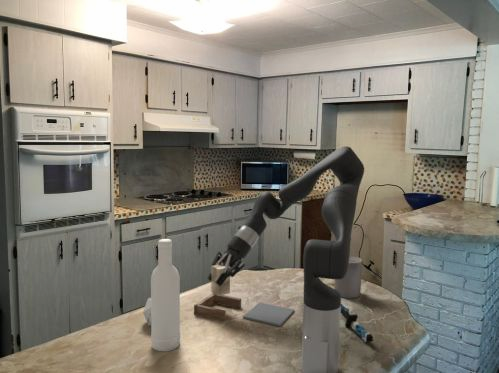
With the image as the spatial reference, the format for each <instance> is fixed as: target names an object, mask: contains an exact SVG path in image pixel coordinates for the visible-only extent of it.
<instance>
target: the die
mask: <svg viewBox="0 0 499 373" xmlns="http://www.w3.org/2000/svg"><path fill="white" fill-rule="evenodd" d="M142 314H143V316H144V318H145V321H146V323H147V325H148V326H149V327H151V297H149V298H147V301H146V303H145V305H144V308H143V310H142Z"/></svg>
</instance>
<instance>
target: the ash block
mask: <svg viewBox="0 0 499 373" xmlns="http://www.w3.org/2000/svg"><path fill="white" fill-rule="evenodd" d="M210 267H211V269H210V270H211V272H210V273H211V281H210V283H211V284H210V285H211V286H210V289H211V290H210V291H211V294H212V293H214V294H216V295H218V296H221V295H227V294H230V293H231V276H229V277H227V279H226V280H225V281H224V283H223V284H222V285H221V286H219V285H218V284H216V280H217V279H218V278H219V277H220V275H221V274H222V273H223V271H224V269H225V265H224V264H223V263H222V265H216V264H215V265H214V266H211V265H210ZM228 270H229V269H228ZM228 270H227V271H228Z"/></svg>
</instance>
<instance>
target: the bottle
mask: <svg viewBox="0 0 499 373" xmlns="http://www.w3.org/2000/svg"><path fill="white" fill-rule="evenodd" d="M157 249H158V253H157V254H158V259H157V260H158V261H157V262H158V265H157V266H156V267H155V268H154V269H153V271H152V273H151V276H150V298H151V325H150V327H151V332H150V333H151V335H150V336H151V337H150V341H151V348H152V349H153V350H155V351H158V352H170V351H174V350H175V349H177V348H179V346H180V342H181V330H180V328H181V320H180V319H181V316H180V315H181V314H180V313H181V310H180V309H181V308H180V307H181V302H180V300H181V298H180V297H181V296H180V295H181V294H180V292H181V290H180V289H181V287H180V285H181V281H180V280H181V277H180V274H179V271H178V269H177V268H176V267H175V266H174V265H173V241H172V239H171V238H162V239H161V238H160V239H159V240H158V243H157Z"/></svg>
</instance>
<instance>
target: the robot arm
mask: <svg viewBox="0 0 499 373" xmlns="http://www.w3.org/2000/svg"><path fill="white" fill-rule="evenodd" d="M329 170H331V172H332V173H333V174H334V176H335V177H336V178H337V180H338V182H339V185H337V186H334V187H332V188H331V189H329V190H328V191H327V192H326V194H325V196H324V199H323V203H322V207H321V217H322V219H323V221H324V224H326V226H327V228H328V229H329V230H330V232H331V233H332V235H333V236H334V238H335V240H336V241H334V240H324V239H314V238H313V239H309V240H307V241H306V243H305V246H304V247H303V258H302V259H303V302H302V303H303V307H302V308H303V309H302V310H303V311H302V330H301V331H302V332H301V333H302V335H301V336H302V338H301V363H300V364H301V370H302V373H338V371H339V357H340V356H339V352H340V332H341V331H340V330H341V313H340V312H341V304H342V297H341V295H340V293H339V292H338V291H337V290H335V289H334V288H333V287H331V286H329V285H328V284H326V283H324V281H323V280H321V279H327V280H329V279H330V280H335V279H343V278H344V277H345V275H346V273H347V270H348V265H349V256H351V255H350V253H351V241H352V240H351V238H352V230H353V226H354V225H353V224H354V220H355V215H356V207H357V199H358V195H359V190H360V186H361V184H362V180H363V177H364V174H365V167H364V164H363V162H362V160H361V159H360V158H359V157H358V155H357V154H356V153H355V151H354V150H353V149H352V147H350V146H347V145H346V146H345V145H344V146H342V147H340V148H338V149H336V150H334V151H333V152H331V153H330V154H329V155H327V156H326V157H325V158H323V159H322V160H320V162H317V163H316V164H315V165H314V166H313V167H311V168H310V169H309V170H308V171H306V172H305V173H304V174H302V175H301V176H300V177H298V178H296V179H295V180H292V181H291V182H289V183H288V184H285V185H284V186H282V187H281V188H280V189H279V190H278V196H279V199H280V200H278V198H276V197H275V196H274V194H273V193H272V192H270V191H263V192H261V193H260V194H259V195H258V196H257V197H256V199H255V202H254V204H253V207H252V210H251V212H250V214H249V216H248V218H247V219H246V221H245V222H244V223H243V225H242V226H241V227H240V228H239V229H238V230H237V231H236V233H235V234H234V236H232V238H231V240H230V241H229V242H227V243H228V244H227V245H226V246H227V249H226V250H225V251H224V252H221V251H218V252H217V254H216V255H215V257H214V259H213V261H212V263H211V265H210V267H211V266H214V265H222V264H224V265H225V269H224V271H223V273H222V274H221V275H220V277H219V278H218V279H217V280H216V284H218V285H219V286H221V285H222V284H223V283H224V281H225V280H226V279H227V277H229V276H230V278H233V277H235V276H236V275H237V274H238V273H239V272H240V271H241V270H242V269H243V268H244V267H245V266H246V264H245V262H243V261H242V260H243V259H246V257H247V256H248V254H249V253H250V251H251V250H252V249H253V247H254V246H255V245H256V244H257V241H258V239H259V238H260V237H261V235H262V234H263V233H264V231H265V229H266V228H267V225H268V224H267V220H265V218H264V215H265V216H266V218H268V219H269V220H277V219H279V218H280V217H281V216H283V214H284V213H285V212H286V211H287V210H289V208H291V207H292V206H293V205H295V204H297V203H298V202H300V201H302V200H304V199H306V198H307V197H308V196H310V194H311V193H312V192H313V190H314V188H315V187H316V185H317V182H318V181H319V179H320V177H321V176H322V175H323V174H324V173H325V172H327V171H329ZM228 269H229V270H228ZM227 270H228V271H227ZM207 279H208V281H209V282H211V272H210V273H209V274H208V276H207Z"/></svg>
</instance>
